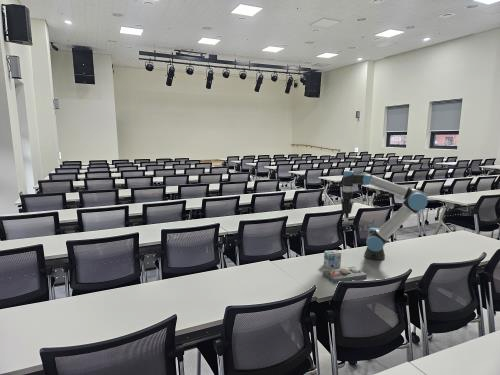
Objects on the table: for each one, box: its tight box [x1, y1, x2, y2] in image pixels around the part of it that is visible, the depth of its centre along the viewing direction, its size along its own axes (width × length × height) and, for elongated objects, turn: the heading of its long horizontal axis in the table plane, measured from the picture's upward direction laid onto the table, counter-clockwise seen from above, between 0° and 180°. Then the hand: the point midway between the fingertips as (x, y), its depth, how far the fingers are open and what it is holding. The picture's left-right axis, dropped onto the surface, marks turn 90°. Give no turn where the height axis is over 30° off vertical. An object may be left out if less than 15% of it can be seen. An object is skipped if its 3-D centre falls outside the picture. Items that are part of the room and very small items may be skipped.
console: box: [322, 265, 368, 285], centre depth 220 cm, size 25×14×3 cm, turn 109°
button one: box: [351, 267, 360, 273], centre depth 223 cm, size 5×5×3 cm
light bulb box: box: [323, 249, 342, 269], centre depth 238 cm, size 11×7×11 cm, turn 105°
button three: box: [330, 271, 338, 277], centre depth 218 cm, size 5×5×3 cm
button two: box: [340, 266, 349, 274], centre depth 220 cm, size 5×5×3 cm
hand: (345, 221), depth 249 cm, fingers closed
